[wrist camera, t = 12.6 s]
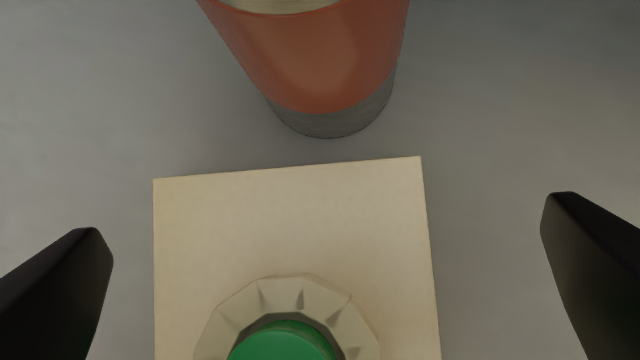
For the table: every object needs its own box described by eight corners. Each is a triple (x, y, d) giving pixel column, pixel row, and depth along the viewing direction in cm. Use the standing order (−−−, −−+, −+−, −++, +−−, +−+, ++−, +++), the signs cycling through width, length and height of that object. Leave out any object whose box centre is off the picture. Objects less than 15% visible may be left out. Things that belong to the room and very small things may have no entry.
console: (174, 184, 20) (128, 170, 16) (414, 164, 19) (427, 144, 15) (179, 433, 19) (130, 484, 15) (441, 425, 18) (463, 477, 14)
